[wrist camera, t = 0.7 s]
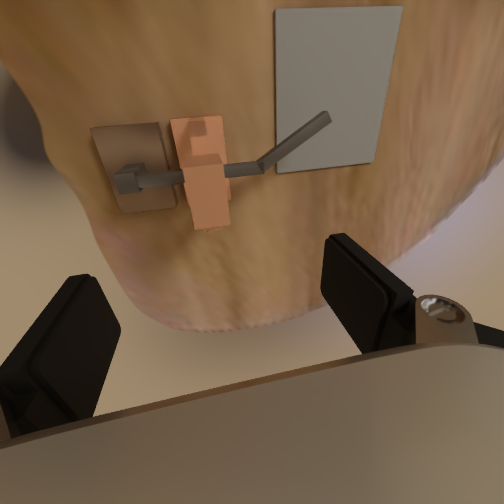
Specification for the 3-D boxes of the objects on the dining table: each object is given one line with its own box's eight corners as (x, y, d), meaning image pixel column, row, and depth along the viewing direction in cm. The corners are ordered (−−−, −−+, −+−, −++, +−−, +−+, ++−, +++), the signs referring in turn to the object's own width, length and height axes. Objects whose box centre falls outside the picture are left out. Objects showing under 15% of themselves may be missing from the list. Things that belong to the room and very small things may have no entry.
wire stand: (96, 127, 28) (66, 132, 22) (306, 109, 31) (334, 110, 25) (125, 208, 33) (108, 232, 27) (302, 186, 37) (325, 202, 30)
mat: (274, 10, 26) (275, 8, 25) (400, 7, 28) (403, 5, 27) (276, 172, 35) (277, 173, 34) (371, 161, 37) (373, 162, 36)
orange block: (170, 119, 29) (150, 128, 16) (220, 115, 30) (239, 120, 17) (188, 202, 34) (183, 259, 21) (230, 197, 35) (250, 249, 22)
